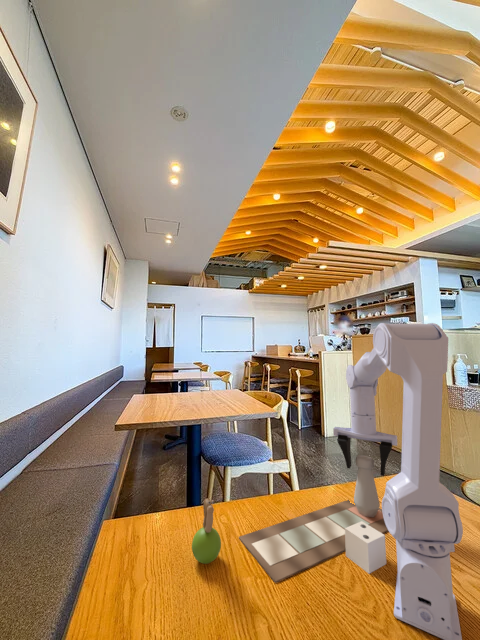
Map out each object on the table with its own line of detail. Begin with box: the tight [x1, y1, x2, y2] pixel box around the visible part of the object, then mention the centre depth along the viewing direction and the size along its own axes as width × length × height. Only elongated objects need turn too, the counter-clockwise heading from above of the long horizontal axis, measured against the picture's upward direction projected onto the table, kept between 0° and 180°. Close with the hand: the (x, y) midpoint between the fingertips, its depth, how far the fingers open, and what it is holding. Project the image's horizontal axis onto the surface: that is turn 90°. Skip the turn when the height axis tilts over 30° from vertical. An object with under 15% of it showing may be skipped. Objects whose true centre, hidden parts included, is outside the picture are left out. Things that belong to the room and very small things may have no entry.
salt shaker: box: [353, 454, 381, 517], centre depth 68 cm, size 6×6×13 cm
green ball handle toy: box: [191, 498, 222, 565], centre depth 52 cm, size 5×6×12 cm
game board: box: [238, 499, 389, 584], centre depth 61 cm, size 37×13×1 cm, turn 119°
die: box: [345, 521, 387, 574], centre depth 52 cm, size 5×5×5 cm
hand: (365, 470), depth 68 cm, fingers open, 7 cm apart
